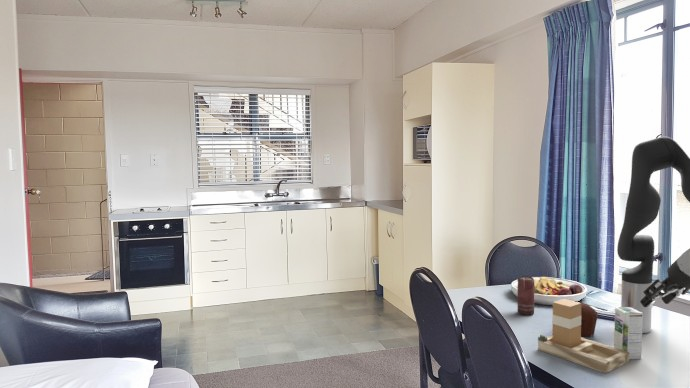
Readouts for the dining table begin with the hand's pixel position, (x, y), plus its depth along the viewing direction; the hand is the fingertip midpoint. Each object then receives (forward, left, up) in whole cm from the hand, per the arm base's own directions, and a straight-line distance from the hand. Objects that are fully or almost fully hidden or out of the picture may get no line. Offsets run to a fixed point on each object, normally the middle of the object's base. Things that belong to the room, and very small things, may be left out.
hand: (653, 303), depth 149 cm
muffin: (-11, -29, -20) cm, 37 cm away
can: (-14, -53, -20) cm, 58 cm away
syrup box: (-4, -9, -20) cm, 22 cm away
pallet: (+7, -17, -19) cm, 27 cm away
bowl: (-40, -61, -20) cm, 75 cm away
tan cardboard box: (+7, -23, -19) cm, 30 cm away
